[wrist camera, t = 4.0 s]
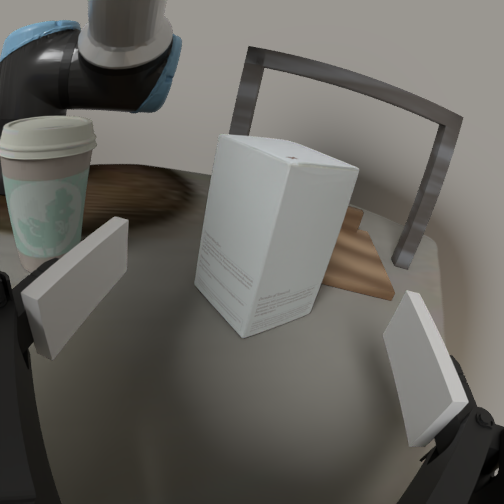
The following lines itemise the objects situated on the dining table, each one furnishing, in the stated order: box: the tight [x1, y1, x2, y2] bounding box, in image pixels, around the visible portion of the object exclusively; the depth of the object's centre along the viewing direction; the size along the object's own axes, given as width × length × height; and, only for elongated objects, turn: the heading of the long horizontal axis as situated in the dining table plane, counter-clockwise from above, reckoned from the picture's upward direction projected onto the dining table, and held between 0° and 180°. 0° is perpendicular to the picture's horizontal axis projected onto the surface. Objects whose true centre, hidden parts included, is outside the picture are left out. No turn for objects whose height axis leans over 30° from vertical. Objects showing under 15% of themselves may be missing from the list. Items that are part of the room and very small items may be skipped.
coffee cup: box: [0, 116, 97, 273], centre depth 22 cm, size 8×8×12 cm
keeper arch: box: [229, 46, 463, 301], centre depth 34 cm, size 16×26×21 cm, turn 82°
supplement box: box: [194, 134, 359, 338], centre depth 24 cm, size 7×7×13 cm
